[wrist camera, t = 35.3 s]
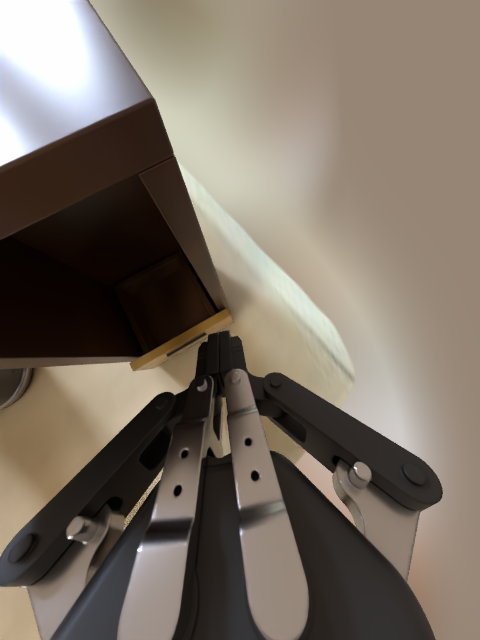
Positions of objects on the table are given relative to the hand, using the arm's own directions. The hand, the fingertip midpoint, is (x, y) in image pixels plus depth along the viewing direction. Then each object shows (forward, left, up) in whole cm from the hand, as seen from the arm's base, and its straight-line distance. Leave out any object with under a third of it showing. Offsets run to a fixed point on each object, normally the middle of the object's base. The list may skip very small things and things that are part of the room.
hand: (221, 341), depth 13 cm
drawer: (-4, +8, -11) cm, 14 cm away
